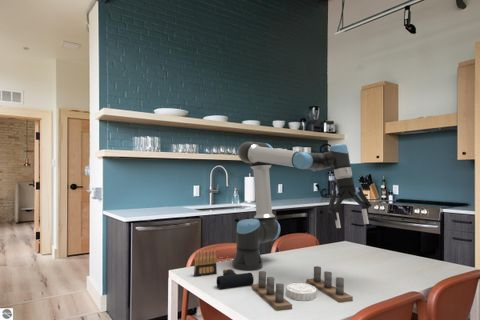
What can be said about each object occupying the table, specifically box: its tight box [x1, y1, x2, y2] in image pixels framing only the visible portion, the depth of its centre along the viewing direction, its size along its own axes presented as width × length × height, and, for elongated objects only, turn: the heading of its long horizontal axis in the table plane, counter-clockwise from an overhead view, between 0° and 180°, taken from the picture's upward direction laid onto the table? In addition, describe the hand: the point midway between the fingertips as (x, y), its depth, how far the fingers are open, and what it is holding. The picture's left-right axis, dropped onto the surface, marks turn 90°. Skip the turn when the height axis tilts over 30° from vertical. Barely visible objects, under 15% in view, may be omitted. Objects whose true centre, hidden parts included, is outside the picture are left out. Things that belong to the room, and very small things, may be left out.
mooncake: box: [285, 282, 318, 302], centre depth 137 cm, size 12×12×4 cm
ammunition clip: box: [193, 248, 218, 278], centre depth 161 cm, size 11×2×12 cm, turn 117°
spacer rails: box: [251, 265, 354, 312], centre depth 138 cm, size 24×32×8 cm
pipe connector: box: [215, 268, 255, 290], centre depth 149 cm, size 12×5×15 cm
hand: (352, 225), depth 151 cm, fingers open, 13 cm apart
